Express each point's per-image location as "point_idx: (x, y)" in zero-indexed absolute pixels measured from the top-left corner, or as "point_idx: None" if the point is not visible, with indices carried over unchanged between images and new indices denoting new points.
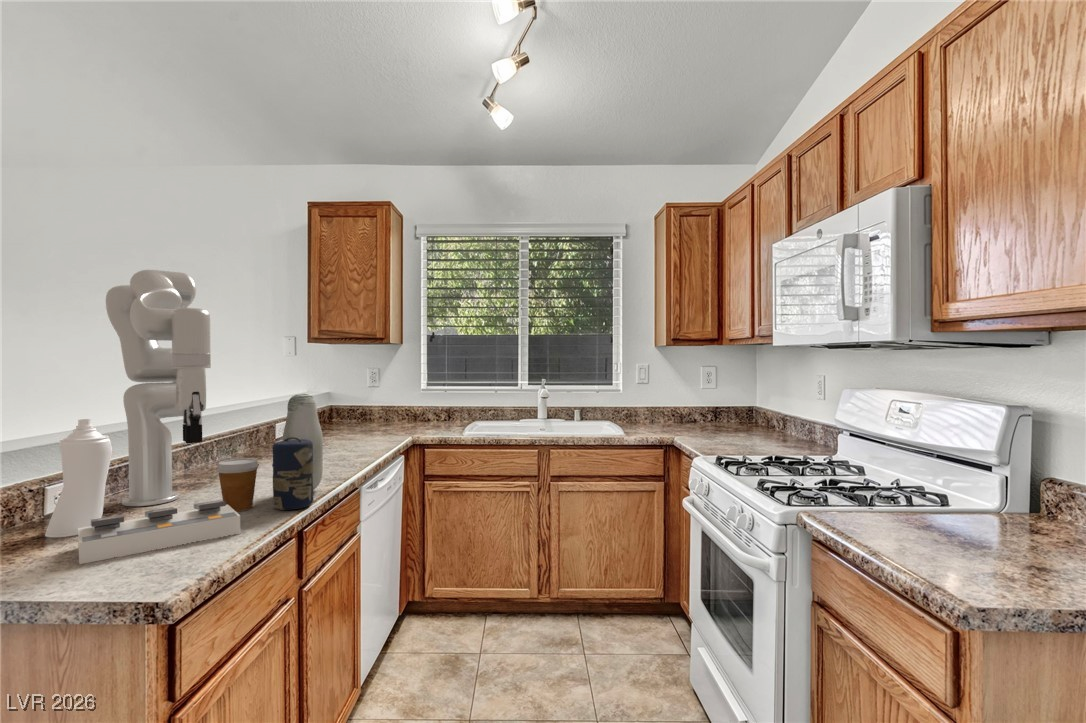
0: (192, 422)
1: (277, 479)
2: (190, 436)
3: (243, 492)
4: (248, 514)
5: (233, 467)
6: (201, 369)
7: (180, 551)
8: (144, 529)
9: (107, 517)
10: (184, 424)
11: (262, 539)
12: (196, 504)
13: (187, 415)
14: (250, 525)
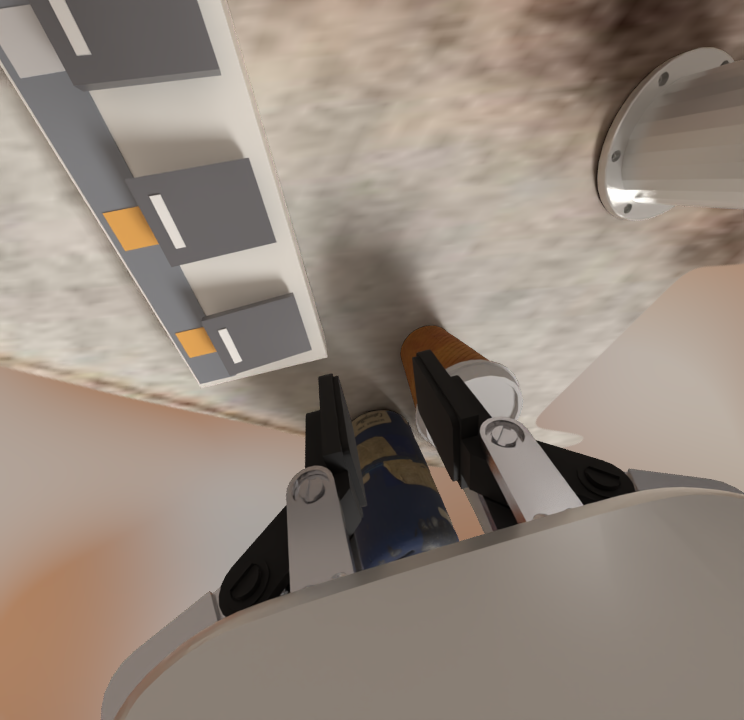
0: (278, 525)
1: (365, 462)
2: (308, 421)
3: (408, 382)
4: (364, 369)
5: None
6: None
7: (96, 262)
8: (91, 171)
9: (168, 6)
10: (460, 425)
11: (157, 401)
12: (255, 307)
13: (294, 572)
14: (273, 377)
